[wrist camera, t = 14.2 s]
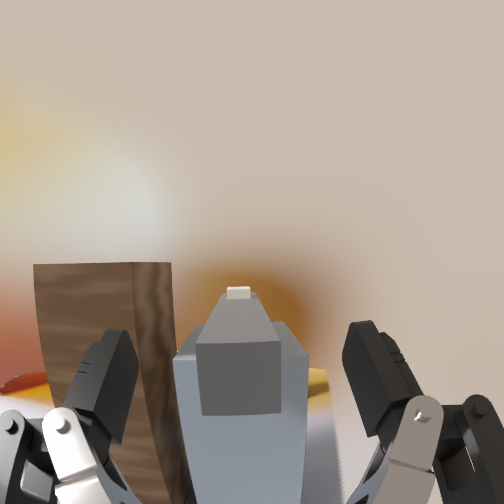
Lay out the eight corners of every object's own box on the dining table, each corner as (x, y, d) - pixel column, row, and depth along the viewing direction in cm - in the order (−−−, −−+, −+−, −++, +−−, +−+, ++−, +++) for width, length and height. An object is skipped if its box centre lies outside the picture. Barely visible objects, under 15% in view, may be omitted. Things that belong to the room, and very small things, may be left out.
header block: (300, 525, 21) (312, 354, 22) (204, 530, 21) (172, 360, 21) (285, 464, 35) (285, 321, 36) (212, 467, 35) (196, 324, 35)
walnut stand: (180, 528, 20) (131, 262, 22) (99, 511, 20) (33, 264, 21) (193, 466, 34) (171, 262, 36) (128, 459, 34) (96, 264, 35)
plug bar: (281, 413, 13) (280, 320, 13) (202, 415, 13) (193, 322, 13) (256, 324, 35) (255, 284, 35) (224, 325, 35) (222, 285, 35)
